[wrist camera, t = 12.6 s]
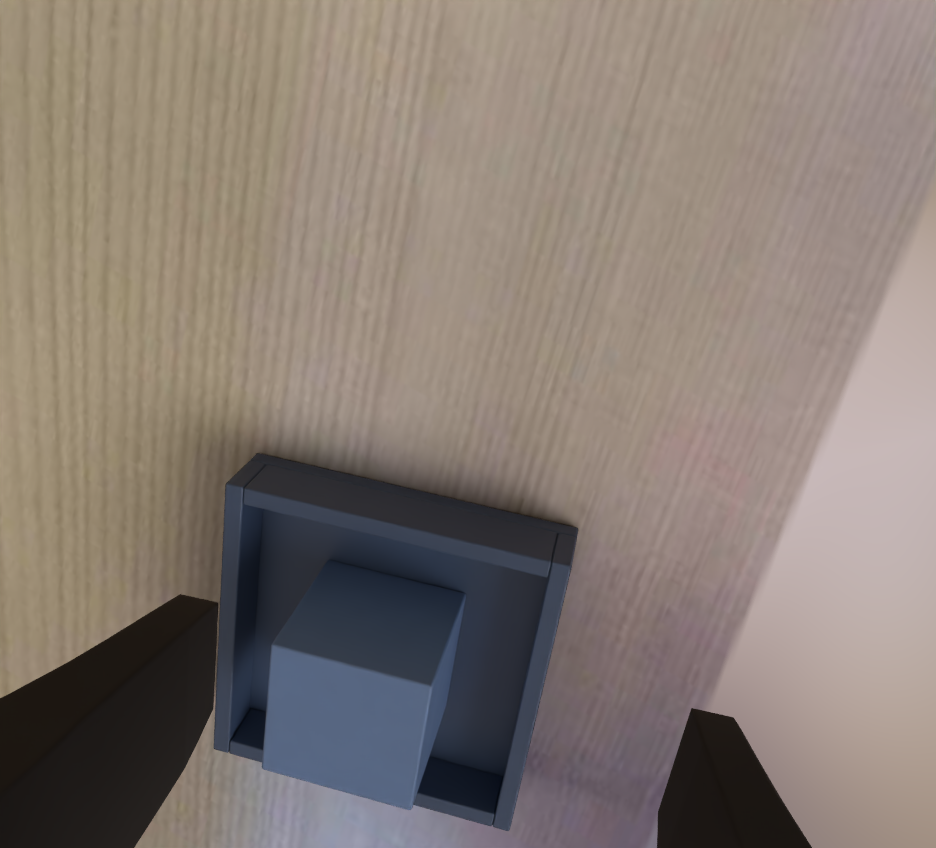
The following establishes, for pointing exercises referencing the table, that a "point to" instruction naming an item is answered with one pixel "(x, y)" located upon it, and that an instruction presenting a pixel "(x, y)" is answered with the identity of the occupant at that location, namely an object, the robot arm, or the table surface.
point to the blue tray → (410, 557)
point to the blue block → (361, 683)
